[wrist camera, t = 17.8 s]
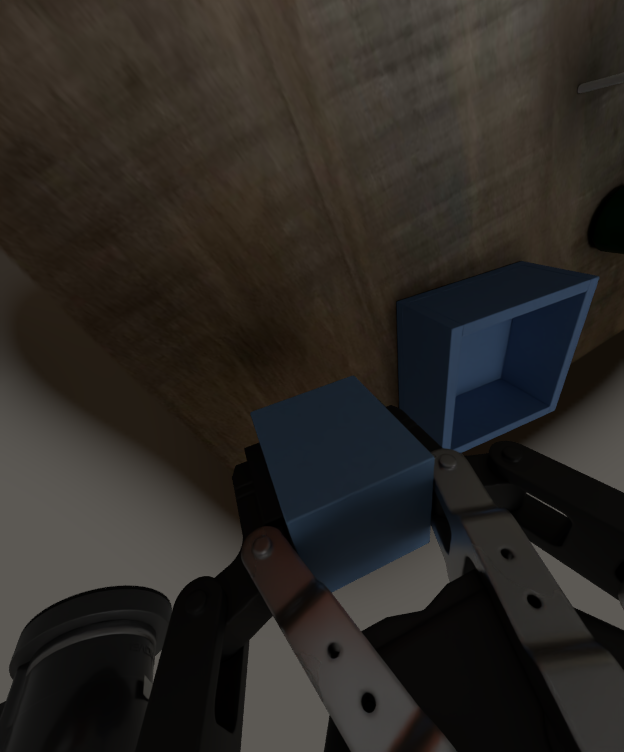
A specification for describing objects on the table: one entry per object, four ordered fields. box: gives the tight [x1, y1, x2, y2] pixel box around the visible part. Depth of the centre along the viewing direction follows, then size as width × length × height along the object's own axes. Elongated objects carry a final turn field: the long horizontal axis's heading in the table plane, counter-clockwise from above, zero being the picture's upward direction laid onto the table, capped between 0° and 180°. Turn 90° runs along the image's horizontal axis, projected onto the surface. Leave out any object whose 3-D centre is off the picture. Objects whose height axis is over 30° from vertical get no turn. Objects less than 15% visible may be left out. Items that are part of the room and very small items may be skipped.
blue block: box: [251, 376, 435, 593], centre depth 11 cm, size 4×4×5 cm
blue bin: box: [397, 261, 599, 453], centre depth 25 cm, size 12×12×6 cm
